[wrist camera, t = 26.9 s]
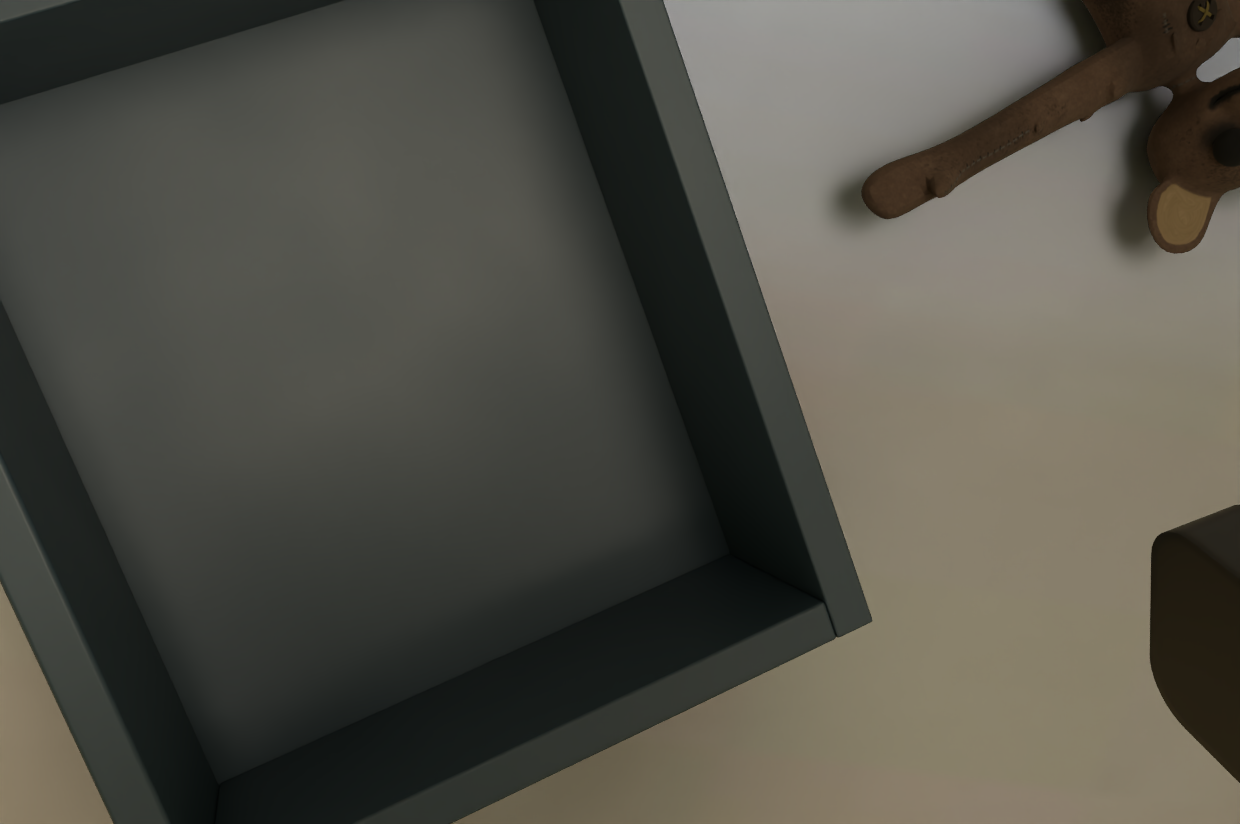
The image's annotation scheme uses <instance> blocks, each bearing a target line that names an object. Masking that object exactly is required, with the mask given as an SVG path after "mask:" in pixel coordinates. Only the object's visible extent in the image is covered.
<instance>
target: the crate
mask: <svg viewBox="0 0 1240 824" xmlns="http://www.w3.org/2000/svg"><path fill="white" fill-rule="evenodd" d="M0 582H1V584H2V587H3V589H4V591H5V593H6V595H7V597H8V599H9V601H10V604H11V606H12V608H13V610H14V612H15V614H16V616H17V619H18V621H19V623H20V625H21V627H22V629H23V631H24V633H25V636H26V638H27V640H28V642H29V644H30V646H31V648H32V651H33V653H34V655H35V657H36V659H37V661H38V663H39V666H40V668H41V670H42V672H43V674H44V676H45V678H46V680H47V683H48V685H49V687H50V689H51V691H52V693H53V695H54V698H55V700H56V702H57V704H58V706H59V708H60V710H61V712H62V715H63V717H64V719H65V721H66V723H67V725H68V727H69V730H70V732H71V734H72V736H73V738H74V740H75V742H76V744H77V747H78V749H79V751H80V753H81V755H82V757H83V759H84V762H85V764H86V766H87V768H88V770H89V772H90V774H91V776H92V779H93V781H94V783H95V785H96V787H97V789H98V791H99V794H100V796H101V798H102V800H103V802H104V804H105V806H106V809H107V811H108V813H109V815H110V817H111V819H112V821H113V823H114V824H451V823H453V822H455V821H457V820H459V819H461V818H463V817H465V816H467V815H470V814H472V813H474V812H476V811H478V810H480V809H482V808H484V807H486V806H488V805H490V804H492V803H495V802H497V801H499V800H501V799H503V798H505V797H507V796H509V795H511V794H513V793H515V792H517V791H519V790H522V789H524V788H526V787H528V786H530V785H532V784H534V783H536V782H538V781H540V780H542V779H544V778H547V777H549V776H551V775H553V774H555V773H557V772H559V771H561V770H563V769H565V768H567V767H569V766H572V765H574V764H576V763H578V762H580V761H582V760H584V759H586V758H588V757H590V756H592V755H594V754H596V753H599V752H601V751H603V750H605V749H607V748H609V747H611V746H613V745H615V744H617V743H619V742H621V741H624V740H626V739H628V738H630V737H632V736H634V735H636V734H638V733H640V732H642V731H644V730H646V729H649V728H651V727H653V726H655V725H657V724H659V723H661V722H663V721H665V720H667V719H669V718H671V717H673V716H676V715H678V714H680V713H682V712H684V711H686V710H688V709H690V708H692V707H694V706H696V705H698V704H701V703H703V702H705V701H707V700H709V699H711V698H713V697H715V696H717V695H719V694H721V693H723V692H726V691H728V690H730V689H732V688H734V687H736V686H738V685H740V684H742V683H744V682H746V681H748V680H751V679H753V678H755V677H757V676H759V675H761V674H763V673H765V672H767V671H769V670H771V669H773V668H775V667H778V666H780V665H782V664H784V663H786V662H788V661H790V660H792V659H794V658H796V657H798V656H800V655H803V654H805V653H807V652H809V651H811V650H813V649H815V648H817V647H819V646H821V645H823V644H825V643H828V642H830V641H832V640H834V639H835V638H836V637H841V636H843V635H845V634H847V633H849V632H851V631H854V630H856V629H858V628H860V627H862V626H864V625H866V624H868V623H870V622H872V617H871V614H870V611H869V609H868V606H867V603H866V600H865V597H864V594H863V591H862V588H861V585H860V582H859V579H858V576H857V573H856V570H855V567H854V564H853V561H852V558H851V555H850V552H849V549H848V546H847V543H846V540H845V538H844V535H843V532H842V529H841V526H840V523H839V520H838V517H837V514H836V511H835V508H834V505H833V502H832V499H831V496H830V493H829V490H828V487H827V484H826V481H825V478H824V475H823V472H822V470H821V467H820V464H819V461H818V458H817V455H816V452H815V449H814V446H813V443H812V440H811V437H810V434H809V431H808V428H807V425H806V422H805V419H804V416H803V413H802V410H801V407H800V404H799V401H798V399H797V396H796V393H795V390H794V387H793V384H792V381H791V378H790V375H789V372H788V369H787V366H786V363H785V360H784V357H783V354H782V351H781V348H780V345H779V342H778V339H777V336H776V333H775V330H774V328H773V325H772V322H771V319H770V316H769V313H768V310H767V307H766V304H765V301H764V298H763V295H762V292H761V289H760V286H759V283H758V280H757V277H756V274H755V271H754V268H753V265H752V262H751V260H750V257H749V254H748V251H747V248H746V245H745V242H744V239H743V236H742V233H741V230H740V227H739V224H738V221H737V218H736V215H735V212H734V209H733V206H732V203H731V200H730V197H729V194H728V191H727V189H726V186H725V183H724V180H723V177H722V174H721V171H720V168H719V165H718V162H717V159H716V156H715V153H714V150H713V147H712V144H711V141H710V138H709V135H708V132H707V129H706V126H705V123H704V121H703V118H702V115H701V112H700V109H699V106H698V103H697V100H696V97H695V94H694V91H693V88H692V85H691V82H690V79H689V76H688V73H687V70H686V67H685V64H684V61H683V58H682V55H681V52H680V50H679V47H678V44H677V41H676V38H675V35H674V32H673V29H672V26H671V23H670V20H669V17H668V14H667V11H666V8H665V5H664V2H663V0H0Z"/></svg>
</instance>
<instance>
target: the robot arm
mask: <svg viewBox="0 0 1240 824" xmlns="http://www.w3.org/2000/svg"><path fill="white" fill-rule="evenodd" d="M1150 663H1151V668H1152V672H1153V676H1154V679H1155V682H1156V684H1157V687H1158V689H1159V691H1160V693H1161V695H1162V697H1163V699H1164V701H1165V703H1166V704H1167V706H1168V708H1169V709H1170V711H1171V712H1172V714H1173V715H1174V716H1175V717H1176V719H1177V720H1178V721H1179V722H1180V723H1181V725H1182V726H1183V727H1184V728H1185V729H1186V730H1187V731H1188V732H1189V733H1190V734H1191V735H1192V736H1193V737H1194V738H1195V739H1196V740H1197V741H1198V742H1199V743H1200V744H1201V745H1202V746H1203V747H1204V748H1205V749H1206V750H1207V751H1208V752H1209V753H1210V754H1211V755H1212V756H1213V757H1214V758H1215V759H1216V760H1217V761H1218V762H1219V763H1220V764H1221V765H1222V766H1223V767H1224V768H1225V769H1226V770H1227V771H1228V772H1229V773H1230V774H1231V775H1232V776H1233V777H1234V778H1235V779H1236V780H1237V781H1238V782H1239V783H1240V505H1234V506H1231V507H1229V508H1226V509H1223V510H1221V511H1218V512H1216V513H1213V514H1210V515H1208V516H1205V517H1203V518H1200V519H1197V520H1195V521H1192V522H1190V523H1187V524H1185V525H1182V526H1179V527H1177V528H1174V529H1172V530H1169V531H1166V532H1164V533H1161V534H1160V535H1159V536H1157V537H1156V539H1155V541H1154V543H1153V546H1152V553H1151V609H1150Z"/></svg>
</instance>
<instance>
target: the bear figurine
mask: <svg viewBox="0 0 1240 824" xmlns="http://www.w3.org/2000/svg"><path fill="white" fill-rule="evenodd" d="M1082 1H1083V3H1084V4H1085V6H1086V7H1087V9H1088V10H1089V12H1090V14H1091V16H1092V17H1093V19H1094V21H1095V23H1096V25H1097V27H1098V28H1099V30H1100V32H1101V34H1102V37H1103V39H1104V42H1105V44H1106V48H1104V49H1103V50H1101V51H1099V52H1097V53H1096V54H1094V55H1092V56H1090V57H1088V58H1087V59H1085V60H1083V61H1081V62H1079V63H1077V64H1076V65H1074V66H1072V67H1070V68H1069V69H1067V70H1066V71H1064V72H1063V73H1061V74H1060V75H1058V76H1057V77H1055V78H1054V79H1052V80H1050V81H1049V82H1047V83H1046V84H1044V85H1042V86H1041V87H1039V88H1037V89H1036V90H1034V91H1033V92H1031V93H1029V94H1028V95H1026V96H1024V97H1023V98H1021V99H1019V100H1018V101H1016V102H1014V103H1013V104H1011V105H1009V106H1008V107H1006V108H1005V109H1003V110H1001V111H1000V112H998V113H996V114H995V115H993V116H991V117H990V118H988V119H986V120H985V121H983V122H981V123H980V124H978V125H976V126H974V127H973V128H971V129H969V130H967V131H965V132H964V133H962V134H960V135H958V136H956V137H954V138H952V139H950V140H948V141H946V142H944V143H941V144H939V145H937V146H935V147H932V148H930V149H927V150H924V151H921V152H919V153H916V154H913V155H910V156H907V157H904V158H901V159H898V160H896V161H893V162H891V163H889V164H886V165H884V166H883V167H881V168H879V169H878V170H876V171H875V172H873V173H872V174H871V175H870V176H869V177H868V178H867V180H866V181H865V183H864V185H863V187H862V191H861V194H862V199H863V201H864V203H865V204H866V206H867V207H868V208H869V209H870V210H871V211H872V212H873V213H874V214H876V215H877V216H879V217H881V218H884V219H891V218H896V217H899V216H901V215H903V214H905V213H907V212H909V211H911V210H913V209H915V208H916V207H918V206H920V205H922V204H924V203H925V202H927V201H929V200H931V199H933V198H935V197H938V198H942V197H945V196H946V195H948V194H949V193H950V192H951V191H952V190H953V189H954V188H955V187H957V186H958V185H959V184H961V183H962V182H964V181H965V180H967V179H969V178H970V177H972V176H974V175H975V174H977V173H978V172H980V171H982V170H984V169H985V168H987V167H989V166H991V165H993V164H994V163H996V162H998V161H1000V160H1002V159H1004V158H1005V157H1007V156H1009V155H1011V154H1013V153H1015V152H1017V151H1019V150H1020V149H1022V148H1024V147H1026V146H1028V145H1030V144H1032V143H1034V142H1036V141H1038V140H1039V139H1041V138H1043V137H1045V136H1047V135H1049V134H1050V133H1052V132H1054V131H1056V130H1058V129H1060V128H1062V127H1064V126H1066V125H1068V124H1070V123H1072V122H1074V121H1076V120H1079V119H1080V121H1081V122H1082V121H1085V120H1087V119H1088V118H1090V117H1091V116H1092V115H1093V114H1094V112H1096V111H1097V110H1098V109H1100V108H1101V107H1103V106H1105V105H1107V104H1109V103H1111V102H1113V101H1115V100H1118V99H1119V98H1121V97H1122V96H1123V95H1125V94H1127V93H1129V92H1140V91H1147V90H1150V89H1153V88H1156V87H1158V86H1164V87H1167V88H1169V89H1170V90H1171V91H1172V93H1173V99H1172V101H1171V102H1170V104H1169V105H1168V107H1167V108H1166V110H1165V111H1164V112H1163V113H1162V115H1161V116H1160V117H1159V119H1158V120H1157V122H1156V123H1155V125H1154V126H1153V128H1152V130H1151V133H1150V136H1149V139H1148V143H1147V155H1148V160H1149V163H1150V166H1151V168H1152V170H1153V173H1154V175H1155V176H1156V178H1157V180H1158V181H1159V183H1160V184H1159V185H1158V186H1157V187H1156V188H1155V189H1154V190H1153V191H1152V193H1151V194H1150V197H1149V200H1148V206H1147V219H1148V225H1149V229H1150V232H1151V235H1152V236H1153V238H1154V240H1155V242H1156V243H1157V244H1158V245H1159V246H1160V247H1161V248H1162V249H1164V250H1165V251H1167V252H1170V253H1184V252H1188V251H1190V250H1192V249H1193V248H1195V247H1196V246H1197V245H1198V244H1199V243H1200V242H1201V240H1202V238H1203V237H1204V234H1205V232H1206V230H1207V227H1208V224H1209V222H1210V219H1211V216H1212V214H1213V211H1214V209H1215V207H1216V204H1217V202H1218V201H1219V199H1220V197H1221V196H1222V195H1223V194H1224V193H1226V192H1227V191H1229V190H1233V189H1236V188H1239V187H1240V68H1238V69H1235V70H1233V71H1231V72H1229V73H1228V74H1226V75H1224V76H1222V77H1220V78H1218V79H1216V80H1214V81H1212V82H1202V81H1200V80H1199V79H1198V78H1197V75H1196V71H1197V68H1198V67H1199V66H1200V65H1201V64H1202V63H1204V62H1205V61H1207V60H1208V59H1209V58H1211V57H1212V56H1213V55H1214V54H1215V53H1216V52H1217V51H1219V50H1220V49H1221V47H1222V46H1223V45H1224V44H1225V43H1226V42H1227V41H1228V40H1229V39H1231V38H1239V37H1240V0H1082Z"/></svg>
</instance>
